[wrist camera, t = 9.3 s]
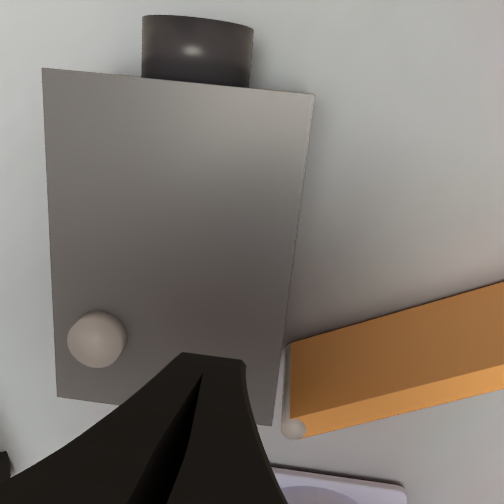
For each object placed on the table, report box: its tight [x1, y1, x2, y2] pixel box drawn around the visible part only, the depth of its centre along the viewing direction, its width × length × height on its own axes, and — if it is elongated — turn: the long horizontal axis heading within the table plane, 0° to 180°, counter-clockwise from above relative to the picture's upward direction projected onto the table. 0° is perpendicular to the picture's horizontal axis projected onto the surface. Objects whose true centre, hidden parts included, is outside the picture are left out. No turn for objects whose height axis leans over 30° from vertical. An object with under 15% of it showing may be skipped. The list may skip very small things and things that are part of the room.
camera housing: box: [42, 15, 315, 426], centre depth 15 cm, size 12×7×6 cm, turn 175°
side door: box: [281, 282, 504, 440], centre depth 16 cm, size 15×1×5 cm, turn 111°
